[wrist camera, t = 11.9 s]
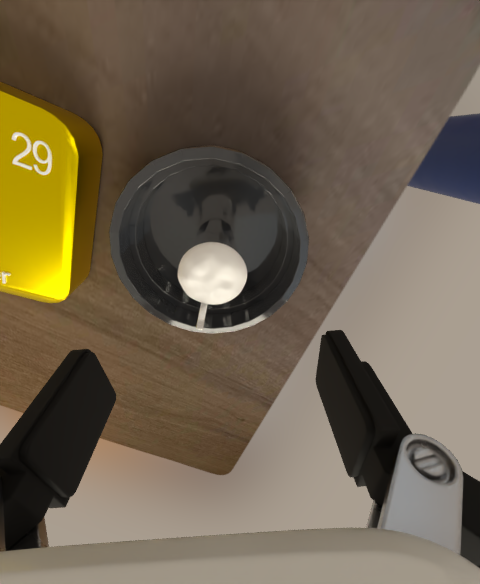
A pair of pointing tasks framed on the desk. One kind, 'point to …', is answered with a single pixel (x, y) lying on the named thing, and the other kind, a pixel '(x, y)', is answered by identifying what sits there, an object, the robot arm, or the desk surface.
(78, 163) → the element tile
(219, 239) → the milkshake
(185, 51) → the desk surface
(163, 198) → the pan
